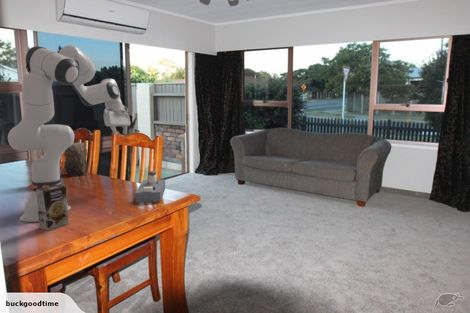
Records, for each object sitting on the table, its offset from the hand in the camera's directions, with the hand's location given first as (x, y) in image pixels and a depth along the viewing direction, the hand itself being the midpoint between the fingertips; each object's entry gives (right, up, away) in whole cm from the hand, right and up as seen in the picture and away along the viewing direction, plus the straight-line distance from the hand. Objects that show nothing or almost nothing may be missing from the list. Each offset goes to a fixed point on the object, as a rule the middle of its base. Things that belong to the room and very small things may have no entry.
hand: (120, 134), depth 193 cm
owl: (-40, -24, +38) cm, 60 cm away
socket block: (+18, -32, -6) cm, 38 cm away
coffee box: (-11, -41, -49) cm, 64 cm away
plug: (+18, -31, 0) cm, 36 cm away
